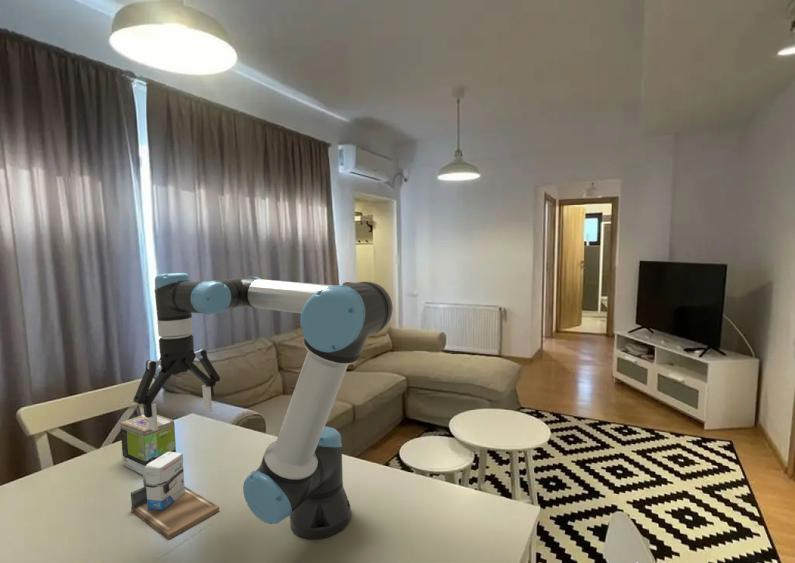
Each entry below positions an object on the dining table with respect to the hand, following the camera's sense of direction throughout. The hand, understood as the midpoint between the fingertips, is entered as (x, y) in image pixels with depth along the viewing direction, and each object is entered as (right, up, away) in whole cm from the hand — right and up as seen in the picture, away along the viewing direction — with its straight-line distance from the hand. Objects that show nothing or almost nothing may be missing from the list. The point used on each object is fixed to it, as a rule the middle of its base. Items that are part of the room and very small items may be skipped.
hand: (182, 419), depth 104 cm
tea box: (-26, -25, +31) cm, 48 cm away
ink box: (-9, -25, +9) cm, 28 cm away
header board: (-5, -26, +6) cm, 27 cm away
